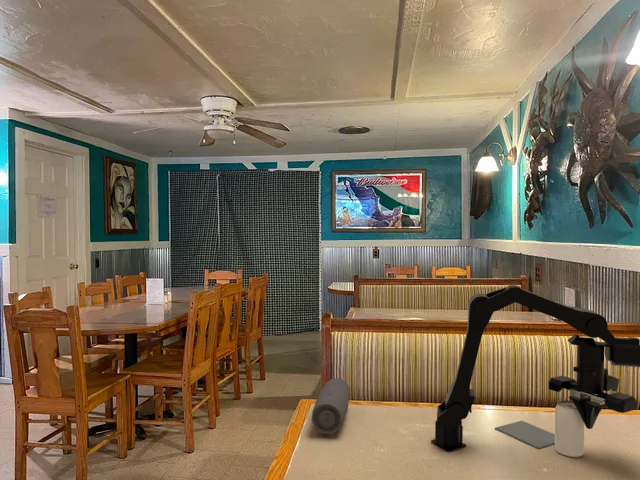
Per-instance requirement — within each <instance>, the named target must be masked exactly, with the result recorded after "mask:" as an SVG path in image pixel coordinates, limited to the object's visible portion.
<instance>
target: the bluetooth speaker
mask: <svg viewBox="0 0 640 480" xmlns="http://www.w3.org/2000/svg"><path fill="white" fill-rule="evenodd" d="M350 398H351V390H350V387H349V385H348V383H347V382H346V381H345V380H343V379H342V378H337V377H335V378H331V379H329V380H328V381H327V382H326V383H325V384H324V386H323V387H322V388H321V390H320V392H319V394H318V396H317V398H316V401H315V402H314V403H315V404H314V405H313V409H312V412H311V423H312V426H313V427H314V429H315V430H316V431H317V432H318V433H321V434H325V435H331V434H334V433H337V432H338V431H339V430H340V428H341V427H342V426H343V423H344V421H345V418H346V415H347V411H348V408H349V404H350Z"/></svg>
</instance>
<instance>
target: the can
mask: <svg viewBox="0 0 640 480" xmlns="http://www.w3.org/2000/svg"><path fill="white" fill-rule="evenodd" d="M556 404H557V405H556V406H555V408H554V434H555V444H554V450H555V451H556V452H557V453H558V454H559V455H562V456H564V457H567V458H568V457H569V458H581V457H582V456H583V455H585V453H584V452H585V424H584V422H583V420H582V417H581V415H580V413H579V411H578V410H577V408H576V406H575V405H574V403H573V401H572V400H559V401H557V402H556Z"/></svg>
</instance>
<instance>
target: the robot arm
mask: <svg viewBox="0 0 640 480" xmlns="http://www.w3.org/2000/svg"><path fill="white" fill-rule="evenodd" d="M515 303H516V304H519V305H522V306H524V307H527V308H529V309H531V310H534V311H537V312H540V313H542V314H545V315H546V316H550V317H552V318H555V319H557V320H560V321H563V322H564V323H566V324H567V325H569V326H570V327H572V328H574V329H576V330H577V331H578V332H581V333H582V334H583V335H585V336H586V337H585V336H584V337H583V336H580V335H579V334H578V333H576V332H575V333H574V334H573V335H572V336H570V337H569V338H568V339H567V343H569V344H570V345H571V346H576V366H573V371H572V372H576V379H575V378H572V377H568V376H565V375H559V376H554V377H551V378H550V379H548V382H547V383H548V384H547V388H548V390H550V391H554V392H557V393H560V392H561V391H562V390H563V389H564V390H567V391H570V396H568V399H569V401H572V402H573V403H574V405H575V406H576V408H577V410H578V411H579V413H580V415H581V417H582V420H583V422H584V427H586V429H588V430H591V429H593V427H594V425H595V423H596V421H597V419H598V417H599V414H600V413H601V412H602V410H603V408H604V407H606V408H607V409H608V410H611V411H614V412H616V413H617V412H618V413H620V414H626V413H628V412H632V411H635V410H637V409H638V401H637V400H636V398H635V397H634V396H633V395H630V394H626V393H623V392H619V391H618V387H619V384H620V379H619V378H617V377H614V376H612V375H609V370H608V368H605V360H606V361H608V362H610V364H611V365H612V366H616V367H617V366H619V367H630V368H631V367H632V368H640V339H639V338H637V337H635V336H629V337H622V336H620V337H619V336H615V335H613V333H612V332H611V331H610V330H609V326H608V325H609V324H608V321H607V319H606V318H605V317H604V315H601V314H599V313H598V312H596V311H594V310H590V309H586V308H582V307H578V306H572V305H571V306H570V305H565V304H562V303H561V302H558V301H554V300H552V299H550V298H548V297H544V296H542V295H540V294H537V293H534V292H531V291H530V290H526V289H524V288H522V287H520V286H518V285H516V284H509V285H508V286H506V287H504V288H500V289H497V290H494V291H490V292H488V293H481V292H480V293H475V294H473V295H472V296H471V297H470V298H469V301H468V306H467V307H468V310H467V328H466V332H465V337H464V340H463V346H462V350H461V352H460V353H461V354H460V357H459V362H458V366H457V370H456V374H455V377H454V379H453V381H452V383H451V385H450V386H449V389H448V390H447V391H448V392H447V394H446V396H445V400H444V401H443V402H441V403H440V404H438V405H437V410H436V420H435V422H434V425H435V428H434V429H435V433H434V436H435V437H434V438H433V439H431V440H430V443H432V444H434V445H435V446H436V447H438V448H440V449H442V450H443V451H445V452H447V453H449V452H454V451H456V450H460V449H464V448H467V444H466V443H464V442H463V440H464V439H463V438H464V437H463V436H464V435H463V431H464V426H463V420H465V419H466V418H467V417H468V416H469V414H472V411H473V410H472V406H473V404H474V402H475V399H476V395H475V389H471V388H470V387H471V382H472V379H473V374H474V369H475V365H476V361H477V358H478V354H479V349H480V346H481V342H482V338H483V334H484V331H485V330H486V328H487V326H488V324H489V323H490V321H491V319H492V316H493V314H494V312H497V311H500V310H502V309H504V308H506V307H508V306H510V305H512V304H515ZM597 338H598V339H600V340H602V341H596V339H597ZM609 391H613V392H614V393H610V394H609V393H607V392H609Z"/></svg>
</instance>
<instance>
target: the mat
mask: <svg viewBox="0 0 640 480" xmlns="http://www.w3.org/2000/svg"><path fill="white" fill-rule="evenodd" d="M494 430H496V431H498V432H500V433H502V434H504V435H506V436H509V437H511V438H513V439H515V440H518V441H519V442H521V443H524V444H526V445H528V446H530V447H532V448H534V449H536V450H542V449H544V448H548V447H551V446H553V445H554V446H555V433H553V432H550V431H548V430H546V429H543V428H540V427H539V426H536V425H533V424H531V423H529V422H526V421H524V420H519V421H515V422H511V423H508V424H505V425H504V424H503V425H499V426H496V427H494Z"/></svg>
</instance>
